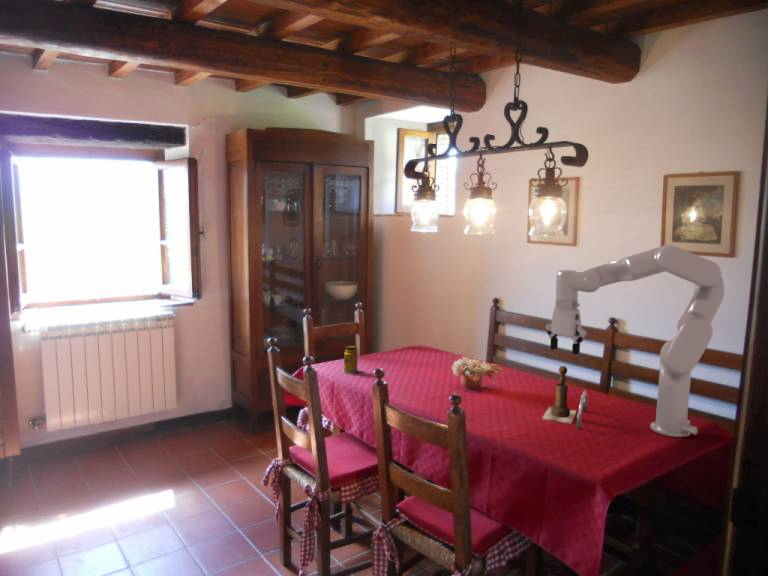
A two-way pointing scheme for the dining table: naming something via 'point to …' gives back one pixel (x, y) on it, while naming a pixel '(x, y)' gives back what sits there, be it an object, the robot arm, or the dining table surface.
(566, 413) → the mortar and pestle
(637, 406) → the dining table surface
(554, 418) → the birch board
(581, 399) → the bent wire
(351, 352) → the condiment
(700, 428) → the dining table surface
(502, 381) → the dining table surface
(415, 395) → the dining table surface
